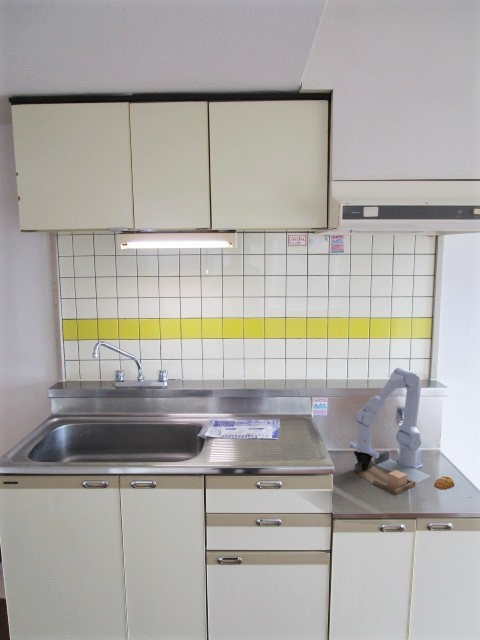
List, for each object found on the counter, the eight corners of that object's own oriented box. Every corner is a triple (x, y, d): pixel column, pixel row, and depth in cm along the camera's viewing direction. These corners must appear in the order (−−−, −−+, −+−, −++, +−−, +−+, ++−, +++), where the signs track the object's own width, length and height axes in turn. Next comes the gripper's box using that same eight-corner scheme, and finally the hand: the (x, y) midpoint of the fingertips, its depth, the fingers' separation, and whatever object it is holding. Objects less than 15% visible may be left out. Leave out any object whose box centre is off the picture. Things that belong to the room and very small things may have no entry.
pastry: (446, 496, 166) (446, 486, 165) (428, 489, 171) (429, 480, 170) (456, 488, 172) (456, 478, 171) (439, 482, 177) (439, 473, 176)
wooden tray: (370, 468, 189) (370, 457, 188) (415, 489, 171) (415, 477, 170) (351, 475, 182) (352, 464, 182) (396, 498, 164) (396, 485, 163)
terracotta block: (395, 481, 174) (396, 469, 173) (406, 486, 170) (407, 474, 169) (388, 485, 171) (388, 473, 171) (398, 490, 167) (399, 478, 166)
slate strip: (386, 460, 197) (387, 449, 196) (431, 479, 178) (431, 467, 178) (372, 466, 191) (372, 455, 190) (416, 486, 173) (417, 474, 172)
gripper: (344, 434, 187) (344, 464, 188) (371, 445, 175) (370, 477, 176) (355, 431, 191) (355, 460, 192) (382, 441, 179) (381, 472, 180)
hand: (363, 468), depth 184 cm, fingers closed on wooden tray, 2 cm apart
